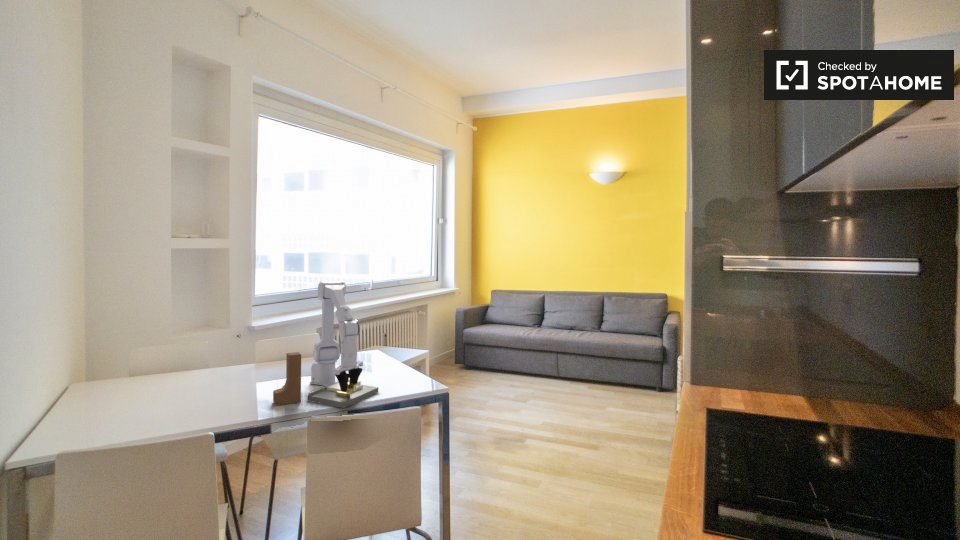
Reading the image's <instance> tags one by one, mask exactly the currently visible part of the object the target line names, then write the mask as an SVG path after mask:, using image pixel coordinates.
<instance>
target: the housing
mask: <svg viewBox="0 0 960 540" xmlns="http://www.w3.org/2000/svg"><path fill="white" fill-rule="evenodd" d="M336 383H339V382H336ZM336 383H333V384H330V385H328V386H331V385H334V384H336ZM362 385H363V388H361V389H359V390H356V391H354V392H351V393H350V398H347V397H345V396H340V395H335V394H336V392H335V391H330V390H327V387H328V386H323V387H320V388H318V389H315V390H313V391H310V392H308V393H307V395H306V397H307V398H306V399H307V400H308V402H312V403H318V404H322V405H327V406H332V407H336V408H337V407H338V408H343V409H345V408H347V407H349V406H352V405H353V404H356V403H358V402H360V401H363V400H365V399H367V398H369V397H372V396H374V395H375V393H376V394H377V392H378V393H379V387H377V386H372V385H367V384H362ZM373 394H374V395H373ZM307 400H306V401H307Z"/></svg>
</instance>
